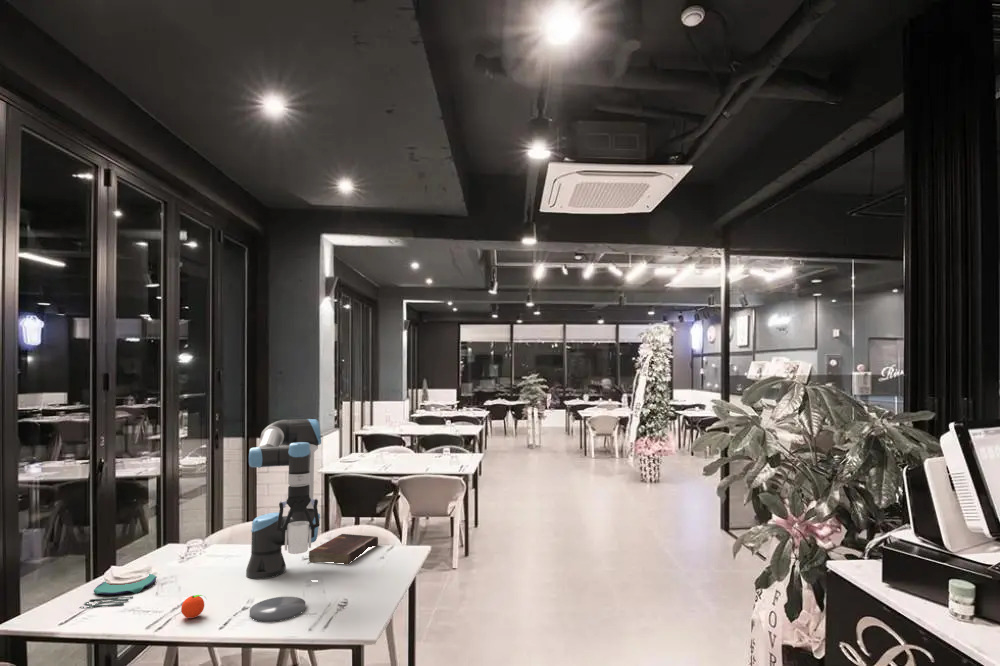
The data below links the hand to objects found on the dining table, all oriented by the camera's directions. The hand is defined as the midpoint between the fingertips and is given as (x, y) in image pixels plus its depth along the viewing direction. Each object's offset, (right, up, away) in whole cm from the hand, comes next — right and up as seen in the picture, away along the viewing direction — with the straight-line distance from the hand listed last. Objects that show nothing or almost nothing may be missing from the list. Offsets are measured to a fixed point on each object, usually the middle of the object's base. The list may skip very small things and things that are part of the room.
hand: (297, 548), depth 213 cm
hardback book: (+4, -22, +51) cm, 56 cm away
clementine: (-29, -17, -18) cm, 38 cm away
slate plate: (-2, -17, -13) cm, 22 cm away
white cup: (0, -1, 0) cm, 1 cm away
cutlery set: (-69, -19, +6) cm, 72 cm away
